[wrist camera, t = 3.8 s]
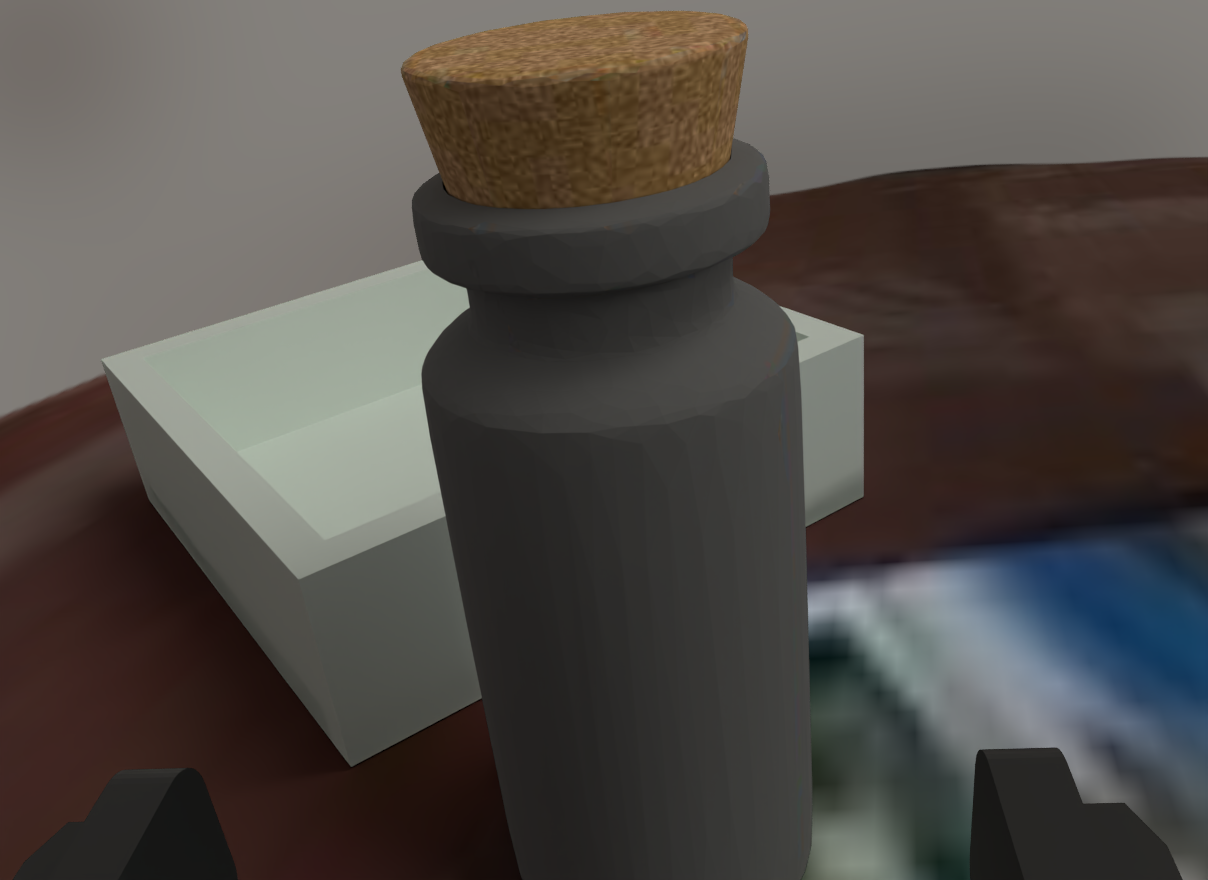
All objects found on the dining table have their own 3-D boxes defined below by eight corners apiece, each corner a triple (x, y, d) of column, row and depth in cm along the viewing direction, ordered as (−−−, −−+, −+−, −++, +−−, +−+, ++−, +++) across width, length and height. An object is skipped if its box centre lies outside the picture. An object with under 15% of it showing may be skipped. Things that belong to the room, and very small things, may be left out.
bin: (557, 347, 44) (540, 223, 42) (863, 496, 32) (863, 335, 30) (148, 499, 37) (100, 359, 35) (350, 766, 25) (298, 579, 23)
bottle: (567, 717, 26) (457, 16, 19) (830, 748, 24) (817, -10, 17) (469, 934, 21) (270, 96, 14) (791, 993, 19) (750, 70, 12)
